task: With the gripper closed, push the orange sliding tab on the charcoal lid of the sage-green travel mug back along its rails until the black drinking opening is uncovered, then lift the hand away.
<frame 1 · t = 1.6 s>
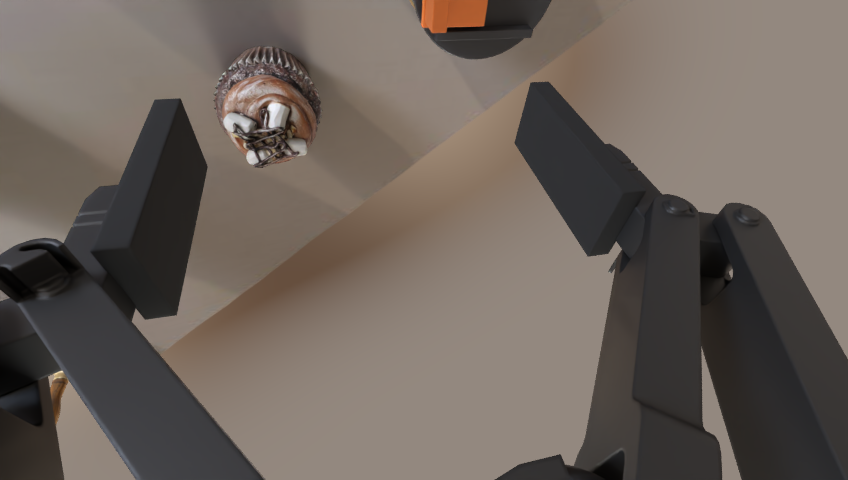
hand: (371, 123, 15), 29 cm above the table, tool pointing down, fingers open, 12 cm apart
cupcake: (271, 84, 42), on the table
hand bell: (78, 336, 63), on the table
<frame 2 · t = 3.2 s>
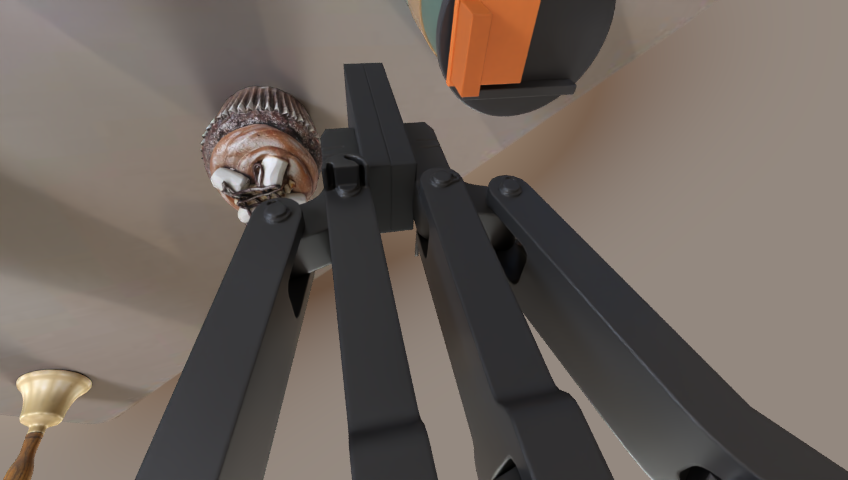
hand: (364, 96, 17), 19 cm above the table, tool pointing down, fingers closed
cupcake: (267, 125, 37), on the table
mug lid: (528, 34, 22), on the travel mug, point 13 cm above the table
hand bell: (56, 381, 58), on the table
slider: (497, 47, 21), point 15 cm above the table, slide at 0.0 cm
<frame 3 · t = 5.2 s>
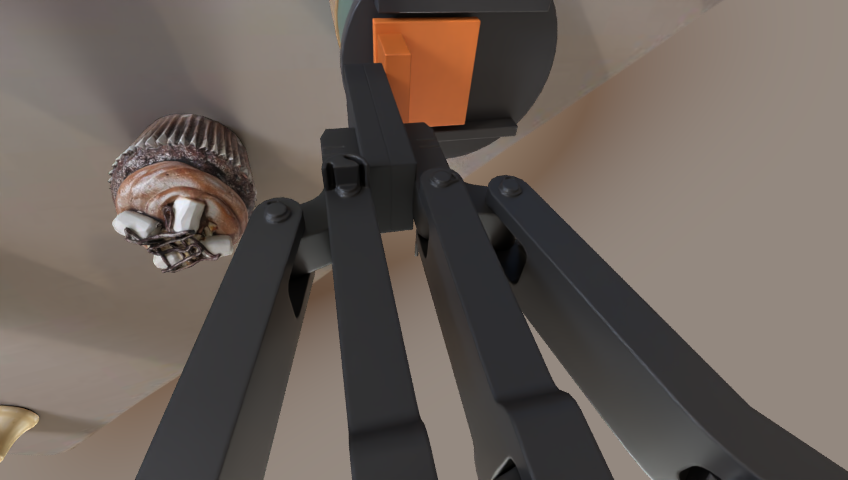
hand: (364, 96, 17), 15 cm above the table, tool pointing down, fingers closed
cupcake: (197, 155, 34), on the table
mug lid: (453, 69, 19), on the travel mug, point 13 cm above the table
slider: (429, 88, 17), point 15 cm above the table, slide at 0.9 cm, touching gripper
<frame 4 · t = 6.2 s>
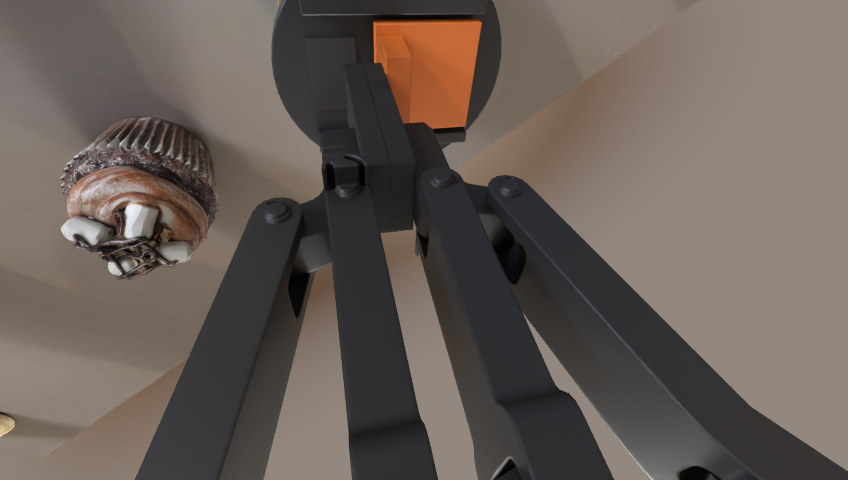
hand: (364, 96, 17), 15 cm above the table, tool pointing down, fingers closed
cupcake: (159, 159, 33), on the table
mug lid: (393, 74, 18), on the travel mug, point 13 cm above the table
slider: (429, 89, 17), point 15 cm above the table, slide at 3.7 cm, touching gripper
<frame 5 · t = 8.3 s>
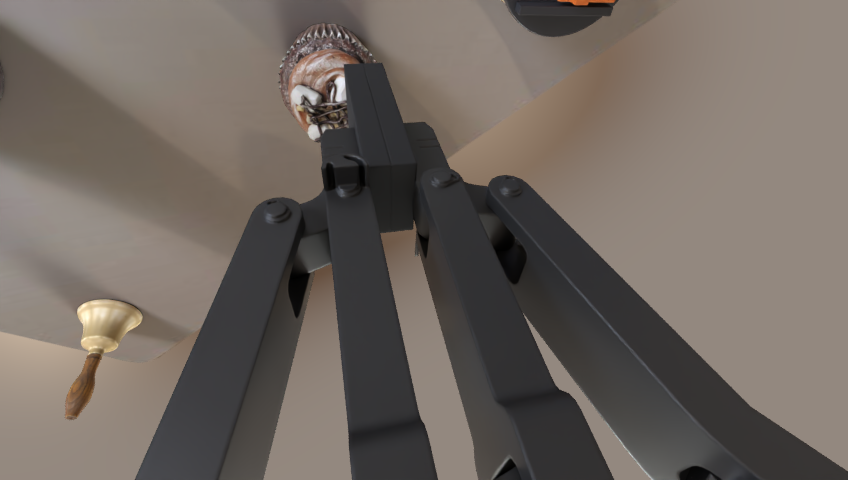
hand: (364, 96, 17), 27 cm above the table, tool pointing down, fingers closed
cupcake: (329, 62, 42), on the table
hand bell: (111, 313, 63), on the table
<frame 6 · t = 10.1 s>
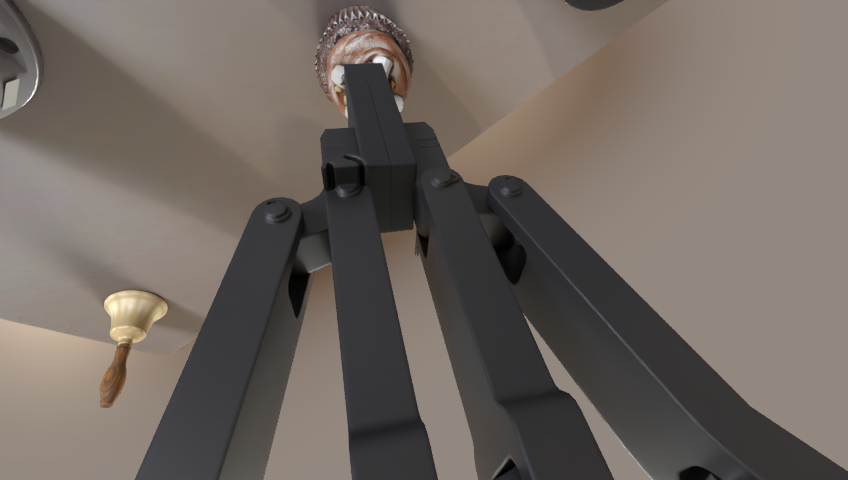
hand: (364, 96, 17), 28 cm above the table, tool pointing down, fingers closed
cupcake: (360, 45, 43), on the table
hand bell: (137, 304, 64), on the table
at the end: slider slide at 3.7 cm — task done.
